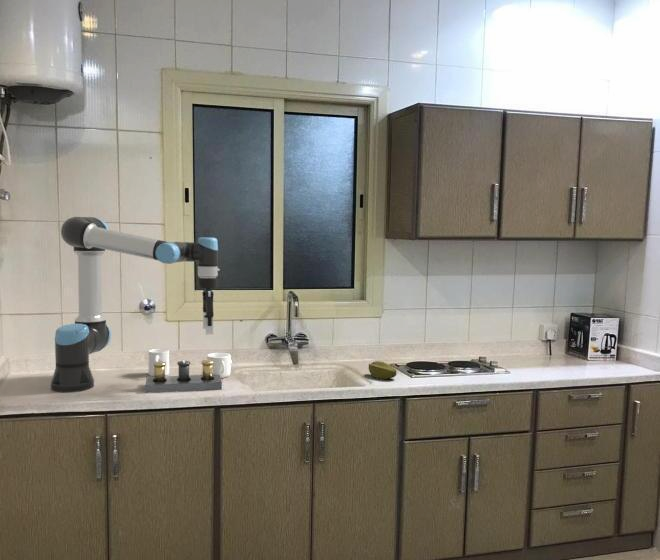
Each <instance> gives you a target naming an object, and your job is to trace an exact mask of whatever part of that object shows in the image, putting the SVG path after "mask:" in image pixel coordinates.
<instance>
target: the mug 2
mask: <svg viewBox="0 0 660 560" xmlns="http://www.w3.org/2000/svg"><path fill="white" fill-rule="evenodd" d="M231 356H232V355H231V354H230V353H226V352H213V353H212V352H211V353H208V354H207V355H206V360H213V361H214V364H213V375H216V374H219V375H220V378H221V379H224V378H228V377H230V375H231V370H232V364H233V360H232V359H231Z"/></svg>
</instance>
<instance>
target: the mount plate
mask: <svg viewBox="0 0 660 560" xmlns="http://www.w3.org/2000/svg"><path fill="white" fill-rule="evenodd" d="M222 385H223V381H222V378H220V375H219V374H216V375H213V379H210V380H204V379H202V374H197V375H192V374H191V375H190V374H189V380H186V381H180V380H179V375H172V376H171V375H167V376H165V381H162V382H156V381H154V377H152V376H147V377H146V380H145V385H144V386H145V387H144V389H145V394H149V393H148V392H155V393H174V392H175V393H176V391H177V392H193V391H195V392H196V391H197V392H198V391H216V390H219V391H221V390H223V388H222Z"/></svg>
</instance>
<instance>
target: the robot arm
mask: <svg viewBox="0 0 660 560" xmlns="http://www.w3.org/2000/svg"><path fill="white" fill-rule="evenodd" d="M60 235H61V239H62V240H63V241H64V242H65V244H67V245H69V246H71V247H72V248H73V252H74V253H75V254H76V255H77V271H78V272H77V275H78V276H77V277H78V279H77V280H78V281H77V282H78V285H77V287H78V290H77V291H78V316H77V317H76V318H75V319H74V323H71V324H64V325H62V326H59V327H58V328H57V329H56V330H55V333H54V343H55V344H54V352H55V353H54V354H55V370H54V372H53V375H52V379H51V381H50V390H52V392H53V391H54V392H60V393H73V392H81V391H86V390H89V389H92V388H94V386H95V379H94V376H93V374H92V371H91V369H90V364H89V363H90V355H92V354H94V353H97V352H98V353H99V352H100V351H102V350H103V349H104V348H105V347H107V346H108V345H109V344H110V342H111V338H112V333H111V332H112V331H111V329H110V327H109V326H108V325H107V318H106V317H105V316H103V310H102V309H103V306H102V305H103V303H102V302H103V301H102V299H103V298H102V297H103V296H102V294H103V292H102V289H103V287H102V255H103V254H104V253H105V252H106V250H107V251H111V252H116V253H121V254H125V255H130V256H135V257H140V258H145V259H150V260H154V261H158V262H160V263H162V264H165V265H167V264H168V265H169V264H175V263H180V262H181V263H182V262H195V263H196V262H197V276H198V278H197V286H198V288H202V292H201V293H202V311H203V312H202V313H203V314H202V329H203V330H205V335H214V295H215V294H214V292H213V291H212V289H215V288H218V286H219V283H218V282H219V280H218V276H219V273H218V272H220V268H219V267H218V265H219V264H218V263H219V262H218V261H219V245H218V244H219V243H218V239H217V238H216V237H204V236H203V237H198V238H197V241H196V242H195V241H194V242H190V241H189V242H188V241H166V240H160V239H156V238H155V239H154V238H151V237H147V236H141V235H137V234H132V233H127V232H122V231H117V230H114V229H113V230H112V229H109V226H108V224H107V223H106V222H105V221H104V220H102V219H100V218H97V217H92V216H88V217H87V216H72V217H70V218H68V219H66V220H65V221H64V222H63V224H62V225H61V228H60Z"/></svg>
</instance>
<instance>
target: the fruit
mask: <svg viewBox="0 0 660 560" xmlns="http://www.w3.org/2000/svg"><path fill="white" fill-rule="evenodd" d="M368 372H369V373H370V375H371V376H372V377H374V378H375V377H376V378H375V379H377V378H380V379H379V380H387V379H394V378H395V377H397V369H395V367H393V366H392V365H390V364H388V363H387V362H384V361H380V360H379V361H372V362H371V363H368Z"/></svg>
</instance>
